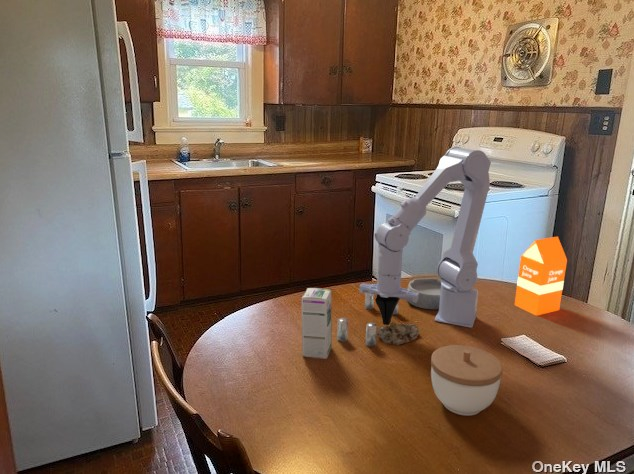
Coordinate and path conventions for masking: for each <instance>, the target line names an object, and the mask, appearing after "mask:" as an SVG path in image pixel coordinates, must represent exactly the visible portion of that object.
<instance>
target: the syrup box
mask: <svg viewBox="0 0 634 474" xmlns="http://www.w3.org/2000/svg"><path fill="white" fill-rule="evenodd" d="M300 299H301V300H300V302H301V344H302V345H301V350H302V352H301V353H302V357H305V358H311V359H323V360H327V359H328V357H329V355H330V352H331V348H332V347H333V346H332V342H333V341H332V338H333V337H332V335H333V334H332V329H333V328H332V326H333V325H332V324H333V323H332V321H333V320H332V290H331V289H329V288H322V287H307V288H306V290H305V292H304V293H303V294H302V297H301V298H300Z"/></svg>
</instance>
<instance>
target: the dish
mask: <svg viewBox="0 0 634 474" xmlns="http://www.w3.org/2000/svg"><path fill="white" fill-rule="evenodd" d="M440 280H441V278H437V277H426V278H423V277H422V278H414V279H413V280H410V281H409V282H408V285H407V287H406V289H407V290H410V291H414V292H418V293H419V298H418V301H417V303H415V302H412V301H410V300H406V301H407V302H408V303H409V304H410V305H413V306H414V307H418V308H422V309H424V310H425V309H426V310H439V304H440V292H441V282H440Z"/></svg>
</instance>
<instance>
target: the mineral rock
mask: <svg viewBox="0 0 634 474" xmlns="http://www.w3.org/2000/svg"><path fill="white" fill-rule="evenodd" d="M419 334H420V330H419V328H418V326H417V325H416V324H411V323H410V324H407V323H401V324H399V323H398V324H397V323H396V322H393V321H392V322H390V324H389V325H383V326H382V327H379V328H377V330H376V336H377V337H378V339H381V340H382V342H383V343H386V344H391V345H392V344H393V345H396V346H401V345H402V344H407V343H409V342H411V341H414V340H416V339H417V337H418V336H419Z"/></svg>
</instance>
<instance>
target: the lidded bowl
mask: <svg viewBox="0 0 634 474" xmlns="http://www.w3.org/2000/svg"><path fill="white" fill-rule="evenodd" d="M430 364H431V365H430V366H431V367H430V368H431V369H430V378H431V379H430V381H431V385H432V389H433V392H434V393H435V396H436V397H437V399H438V400H439V401H440V402H441V403H442V404H443V406H444V408H445V409H447V410H448V411H449V412H451V413H454V414H456V415H459V416H463V417H466V416H468V417H469V416H474V415H477V414H479V413H481V411H484V410H485V409H486V408H488V407H490V405H492V403H493V402H494V400H495V399H496V396H497V395H498V392H499V388H500V385H501V384H500V383H501V377H502V376H503V365H502V363H501V361H500V360H499V359H498V358H497V357H496V356H495V355H493V354H492V353H490V352H488V351H486V350H484V349H483V348H478V347H475V346H470V345H464V344H463V345H462V344H449V345H444V346H441V347H439V348H437V349H435V350H434V351H433V352H432V354H431V358H430Z"/></svg>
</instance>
